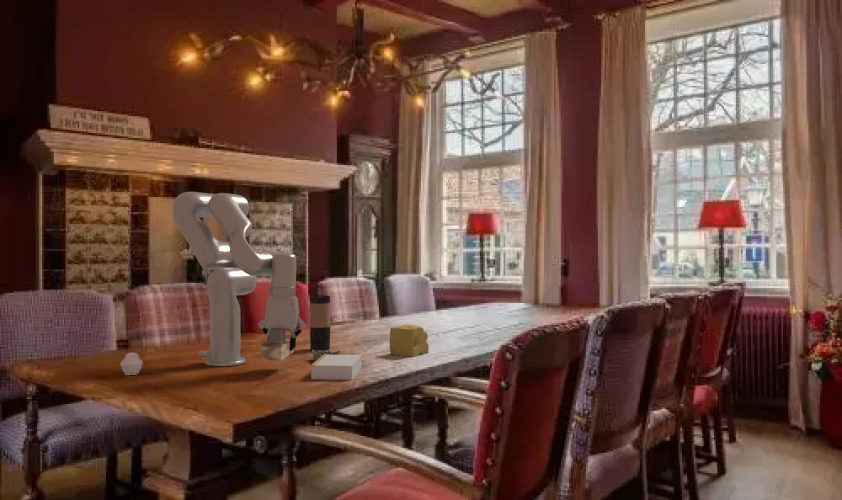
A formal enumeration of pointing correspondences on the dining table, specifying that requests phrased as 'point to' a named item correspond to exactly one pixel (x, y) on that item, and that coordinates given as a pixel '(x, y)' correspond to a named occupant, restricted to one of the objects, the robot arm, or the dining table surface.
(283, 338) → the blue-grey cube
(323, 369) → the block
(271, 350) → the wooden block
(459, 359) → the dining table surface
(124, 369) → the grey faceted stone
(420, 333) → the cheese
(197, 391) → the dining table surface
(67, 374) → the dining table surface
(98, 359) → the dining table surface
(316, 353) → the egg carton
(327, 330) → the travel mug
